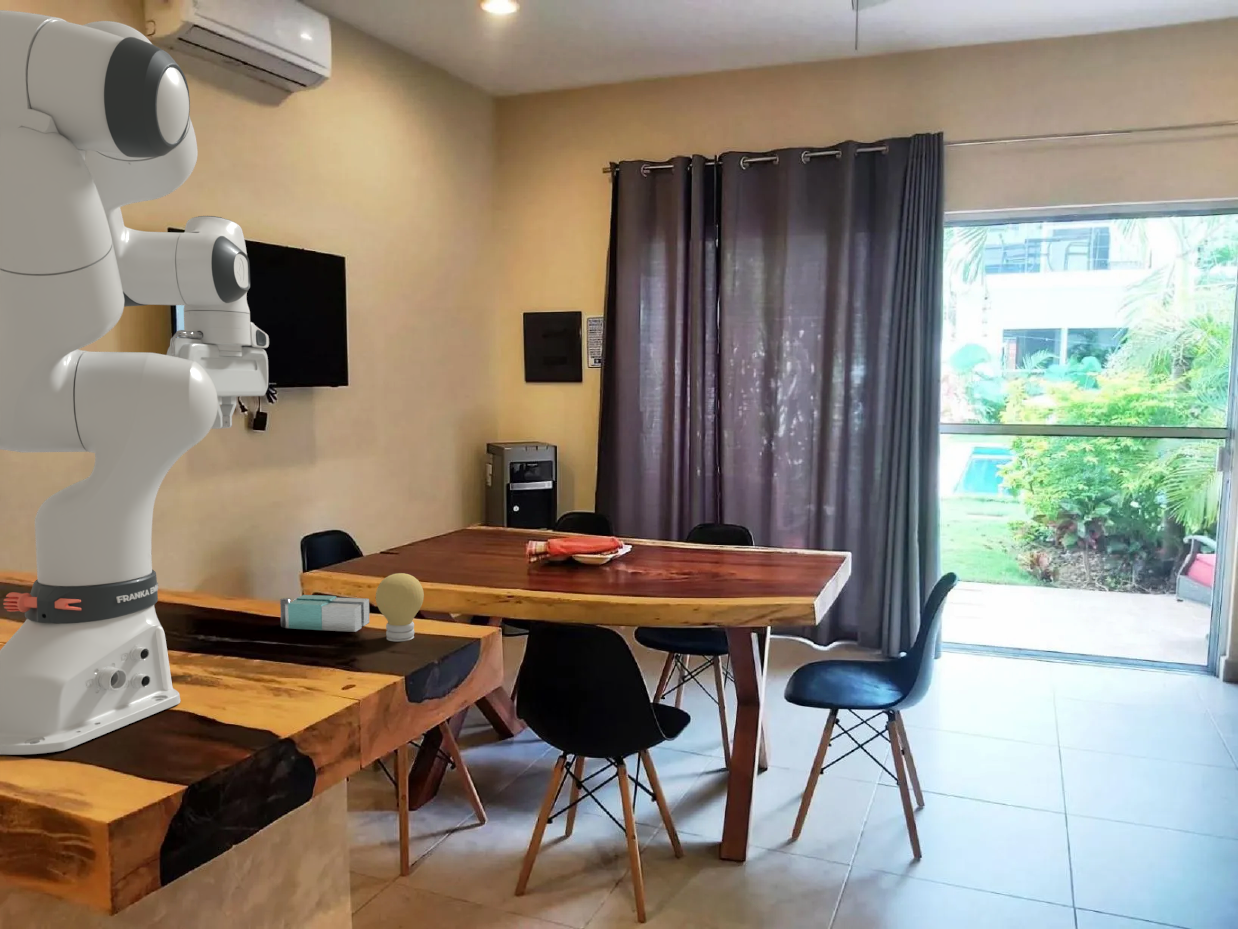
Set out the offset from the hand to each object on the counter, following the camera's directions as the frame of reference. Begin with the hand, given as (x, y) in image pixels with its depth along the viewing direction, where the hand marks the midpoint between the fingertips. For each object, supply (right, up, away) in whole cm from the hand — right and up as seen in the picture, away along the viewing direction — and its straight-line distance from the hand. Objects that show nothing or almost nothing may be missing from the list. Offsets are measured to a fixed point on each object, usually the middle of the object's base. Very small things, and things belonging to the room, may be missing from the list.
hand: (220, 428), depth 132 cm
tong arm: (+17, -28, -2) cm, 33 cm away
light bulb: (+29, -30, -9) cm, 43 cm away
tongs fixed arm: (+16, -29, -4) cm, 33 cm away
